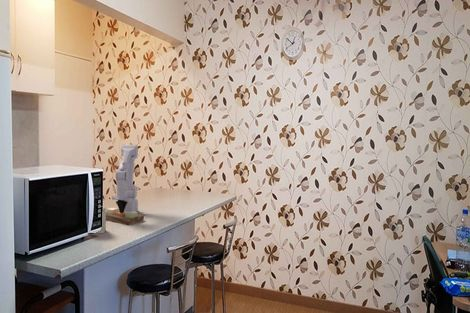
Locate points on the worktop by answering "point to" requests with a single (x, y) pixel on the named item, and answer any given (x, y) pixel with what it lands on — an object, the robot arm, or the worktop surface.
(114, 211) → the ivory cube
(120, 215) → the salmon pink cube
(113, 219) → the slotted board
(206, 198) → the worktop surface
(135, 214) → the block
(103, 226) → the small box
